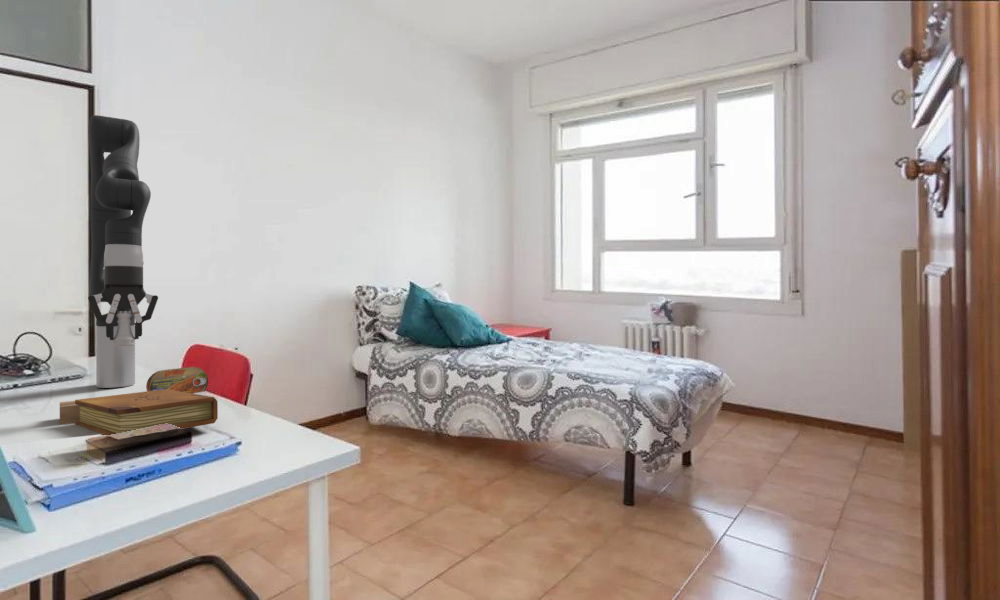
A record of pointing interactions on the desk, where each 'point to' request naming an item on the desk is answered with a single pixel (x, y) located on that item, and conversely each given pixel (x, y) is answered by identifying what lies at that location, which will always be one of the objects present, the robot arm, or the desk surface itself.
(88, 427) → the diary
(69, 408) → the walnut block
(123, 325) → the rook chess piece
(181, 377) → the tin
